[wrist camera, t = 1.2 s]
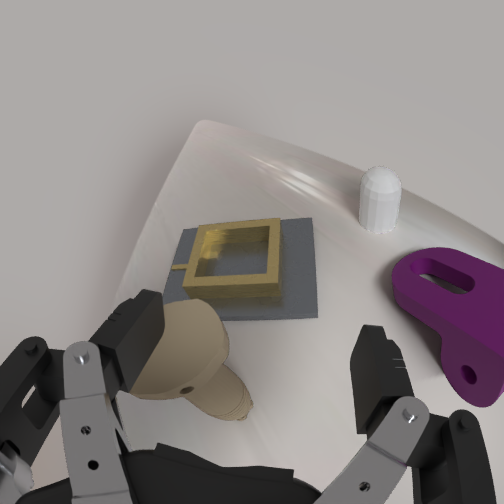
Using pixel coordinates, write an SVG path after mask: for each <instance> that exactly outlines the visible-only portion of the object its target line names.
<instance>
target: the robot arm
mask: <svg viewBox="0 0 504 504" xmlns="http://www.w3.org/2000/svg"><path fill="white" fill-rule="evenodd" d="M164 329H165V318H164V308H163V298H162V294H161V293H160V292H155V291H150V290H146V289H143V290H141V291H140V293H139V294H138V295H137V296H136V297H135V298H134V299H131V298H130V299H128V300H126V301H125V302H123V303H121V304H120V305H119V306H118V307H117V308H116V309H115V310H114V311H113V314H111V315H110V316H109V317H108V320H106V321H105V322H104V323H103V324H102V325H101V327H100V328H99V329H98V330H97V331H96V332H95V334H94V335H93V336H92V337H91V338H90V340H89V341H88V342H86V341H81V342H77V343H74V344H72V345H70V346H69V347H68V348H67V349H66V350H55V349H49V348H48V346H47V344H46V341H45V340H44V339H43V338H41V337H36V336H35V337H29V338H26V339H24V340H23V341H22V342H21V343H20V344H19V345H18V346H17V347H16V348H15V349H14V351H13V352H12V353H11V354H10V355H9V356H8V358H7V359H6V360H5V361H4V362H3V364H2V365H1V366H0V504H384V503H385V501H386V500H387V498H388V497H389V495H390V494H391V493H392V491H393V490H394V488H395V487H396V485H397V483H398V482H399V480H400V479H401V477H402V476H403V474H404V472H405V471H406V469H407V466H410V467H412V478H413V498H414V504H496V496H495V490H494V485H493V479H492V473H491V469H490V464H489V459H488V455H487V451H486V447H485V443H484V439H483V436H482V432H481V429H480V425H479V422H478V420H477V418H476V417H475V416H474V415H473V414H472V413H471V412H469V411H467V410H457V411H455V412H453V413H452V414H451V416H450V417H449V418H447V417H443V416H439V415H434V414H431V413H429V410H428V408H427V406H426V405H425V404H424V403H423V402H422V401H421V400H419V399H417V398H415V396H414V393H413V389H412V386H411V382H410V379H409V376H408V372H407V369H405V367H406V366H405V363H404V361H403V357H402V353H401V350H400V348H399V347H398V346H397V345H396V343H395V342H394V341H393V340H388V339H387V338H386V335H385V331H384V328H383V327H382V326H374V325H363V327H362V329H361V331H360V334H359V336H358V339H357V342H356V344H355V347H354V349H353V352H352V355H351V359H350V372H351V380H352V388H353V397H354V407H355V417H356V429H357V434H367V441H366V443H365V444H364V445H363V446H362V448H361V449H360V450H359V451H358V453H357V454H356V455H355V456H354V458H353V459H352V460H351V461H350V462H349V464H348V465H347V466H346V467H345V468H344V469H343V470H342V472H341V473H340V474H339V475H338V476H337V477H336V478H335V479H334V480H333V482H332V483H331V484H330V485H329V486H328V487H327V488H326V489H325V490H324V491H323V492H322V493H321V492H320V491H319V490H317V489H316V488H314V487H313V486H312V485H310V484H308V483H306V482H304V481H302V480H299V479H297V478H293V473H294V470H293V469H282V468H273V467H265V466H248V467H221V466H218V465H216V464H214V463H212V462H209V461H207V460H205V459H203V458H201V457H199V456H197V455H195V454H193V453H191V452H189V451H185V450H181V449H178V448H174V447H171V446H168V445H164V444H161V443H157V446H156V448H155V450H136V451H132V448H131V446H130V443H129V441H128V438H127V435H126V432H125V429H124V425H123V421H122V418H121V414H120V410H119V406H118V402H117V398H116V394H117V392H118V391H119V390H122V391H125V392H127V393H129V392H130V390H131V389H132V387H133V385H134V383H135V382H136V380H137V378H138V377H139V375H140V373H141V371H142V370H143V368H144V366H145V365H146V363H147V361H148V359H149V358H150V356H151V354H152V353H153V351H154V349H155V348H156V346H157V344H158V343H159V341H160V339H161V338H162V336H163V333H164ZM33 385H34V387H35V388H36V389H35V391H34V392H33V393H32V395H31V396H30V398H29V399H28V401H27V402H26V404H25V405H24V406H23V408H22V401H23V399H24V398H25V396H26V395H27V393H28V392H29V390H30V389H31V387H32V386H33ZM59 415H60V417H61V427H62V436H63V443H64V450H65V456H66V462H67V468H68V472H69V478H66V479H64V480H61V481H59V482H56V483H53V484H50V485H47V486H44V487H42V488H39V489H36V490H33V491H30V489H32V488H33V486H34V481H33V479H32V471H31V468H30V467H31V465H32V463H33V462H34V460H35V458H36V456H37V454H38V452H39V450H40V449H41V447H42V445H43V443H44V441H45V439H46V438H47V436H48V434H49V432H50V430H51V429H52V427H53V425H54V423H55V422H56V420H57V419H58V417H59Z"/></svg>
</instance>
